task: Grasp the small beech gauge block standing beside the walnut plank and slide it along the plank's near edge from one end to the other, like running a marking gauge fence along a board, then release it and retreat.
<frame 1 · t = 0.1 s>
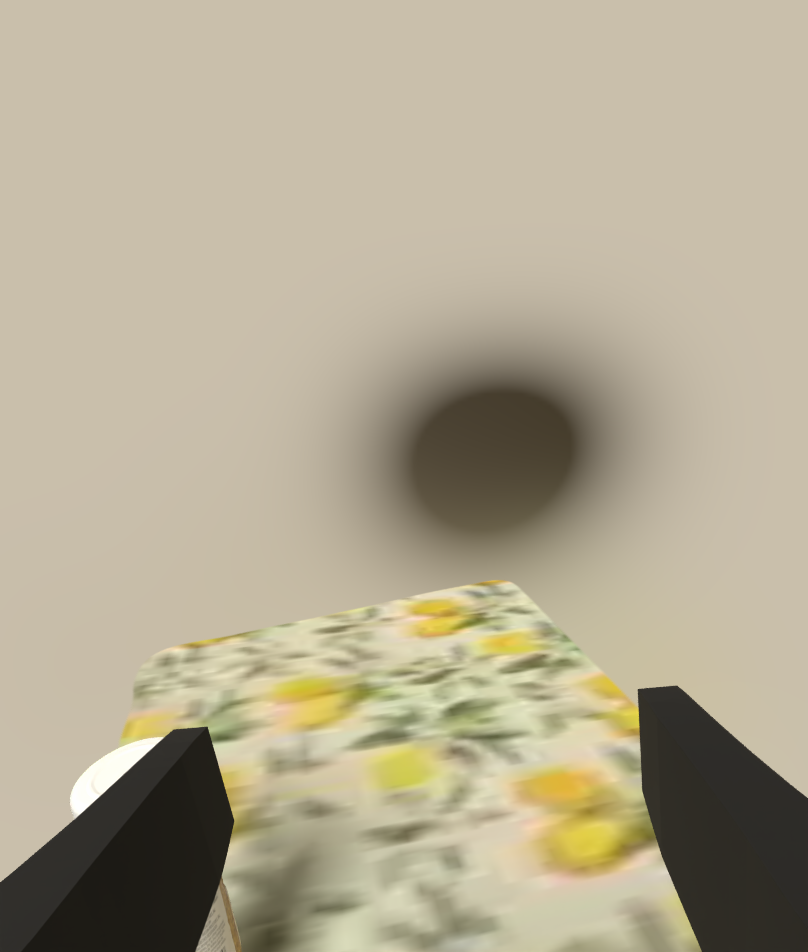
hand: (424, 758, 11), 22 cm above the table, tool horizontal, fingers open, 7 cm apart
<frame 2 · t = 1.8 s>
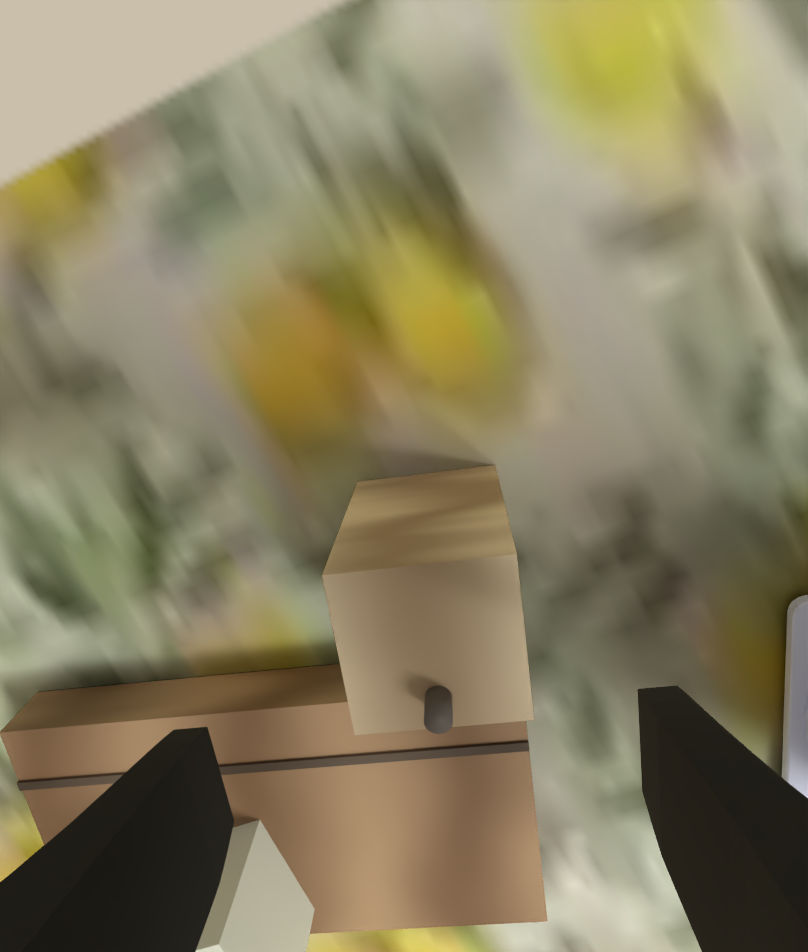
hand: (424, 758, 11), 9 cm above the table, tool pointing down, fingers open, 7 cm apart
gauge block: (434, 536, 20), on the table
offcut block: (234, 881, 22), point 2 cm above the table, touching plank
plank: (294, 781, 23), on the table
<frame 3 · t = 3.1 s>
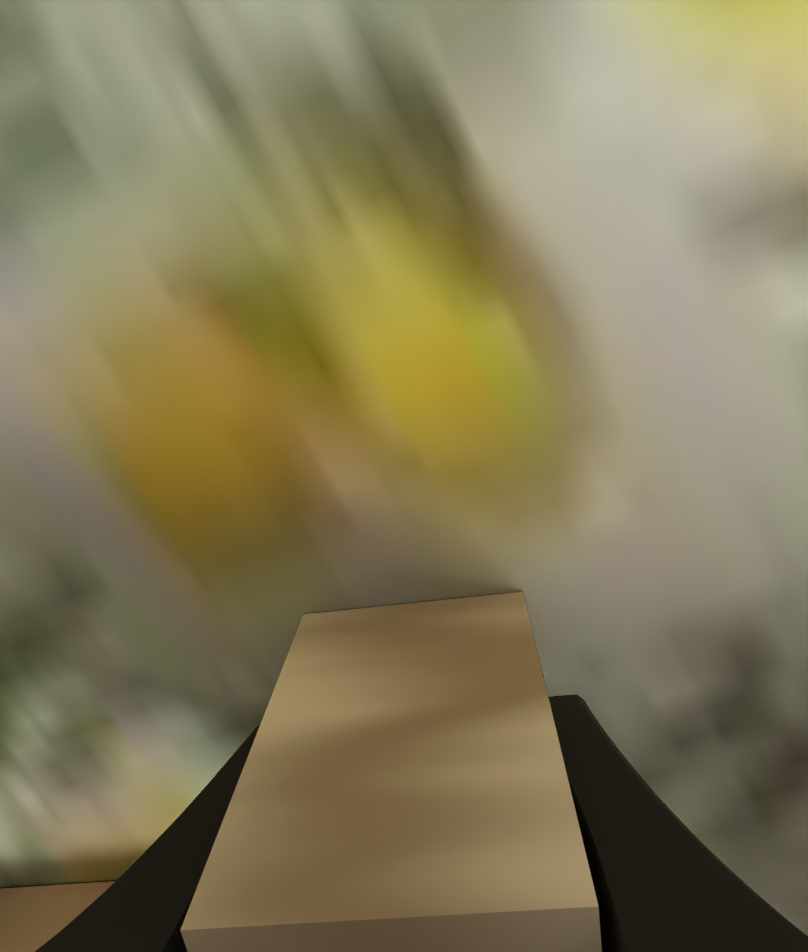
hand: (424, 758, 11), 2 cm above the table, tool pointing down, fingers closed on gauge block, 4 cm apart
gauge block: (426, 696, 13), on the table, touching gripper
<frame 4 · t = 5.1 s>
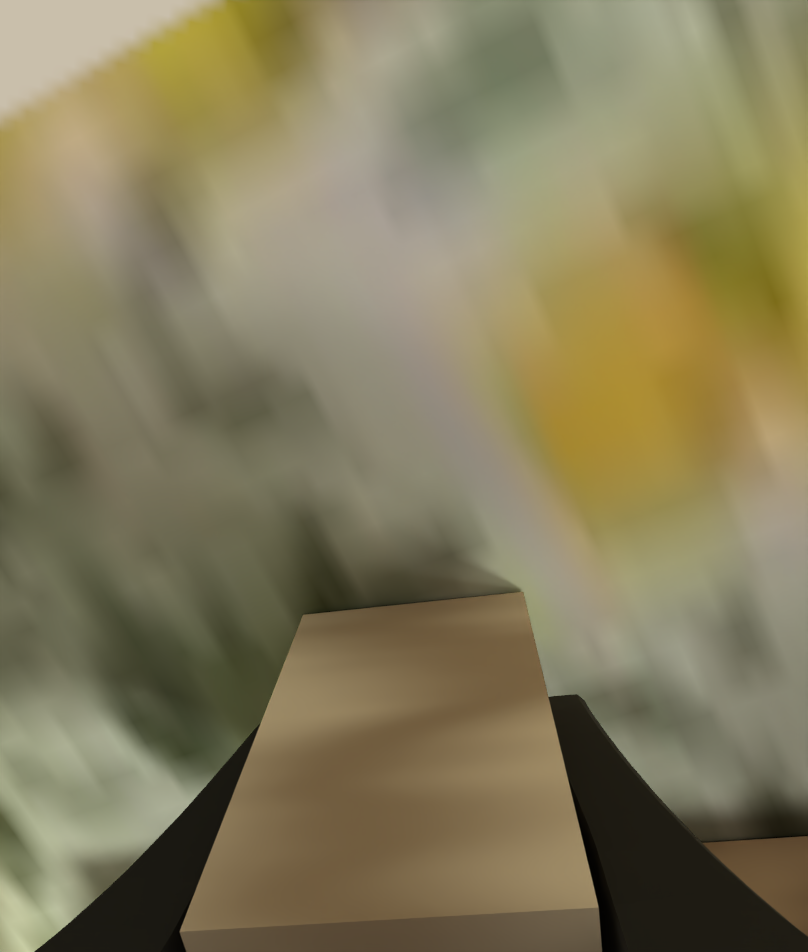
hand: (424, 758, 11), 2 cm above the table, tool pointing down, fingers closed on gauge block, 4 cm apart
gauge block: (426, 696, 13), on the table, touching gripper
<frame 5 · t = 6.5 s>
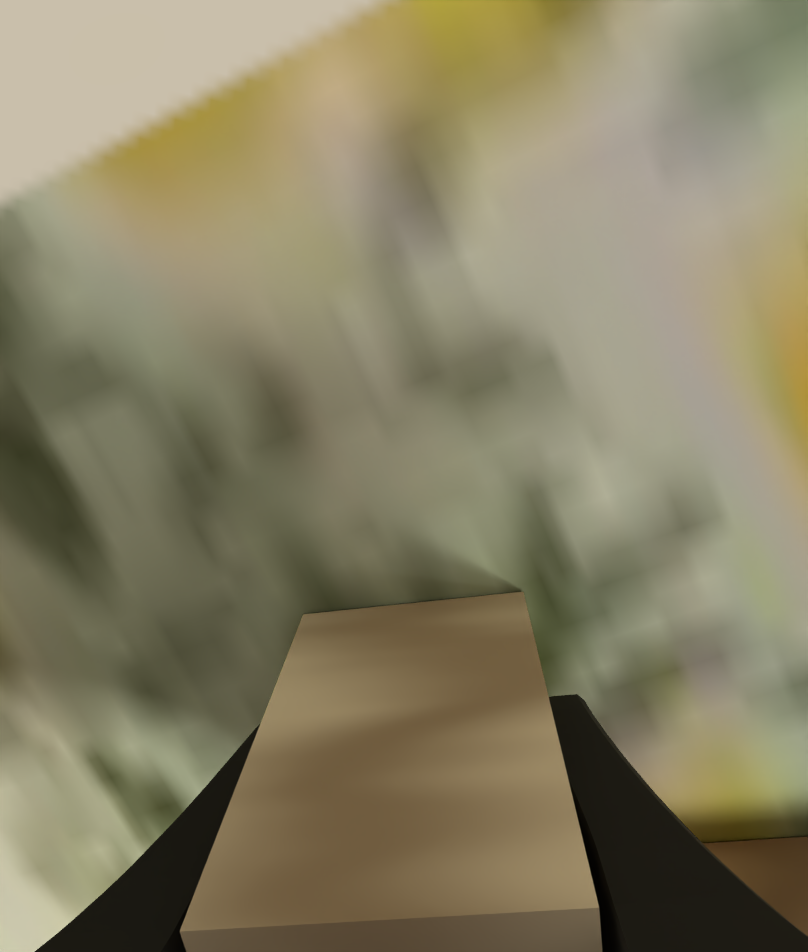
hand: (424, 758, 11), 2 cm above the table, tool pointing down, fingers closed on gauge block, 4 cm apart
gauge block: (426, 696, 13), on the table, touching gripper
when the fingers open (2 cm above the table, at t = 7.3 s): gauge block stays where it is, on the table.
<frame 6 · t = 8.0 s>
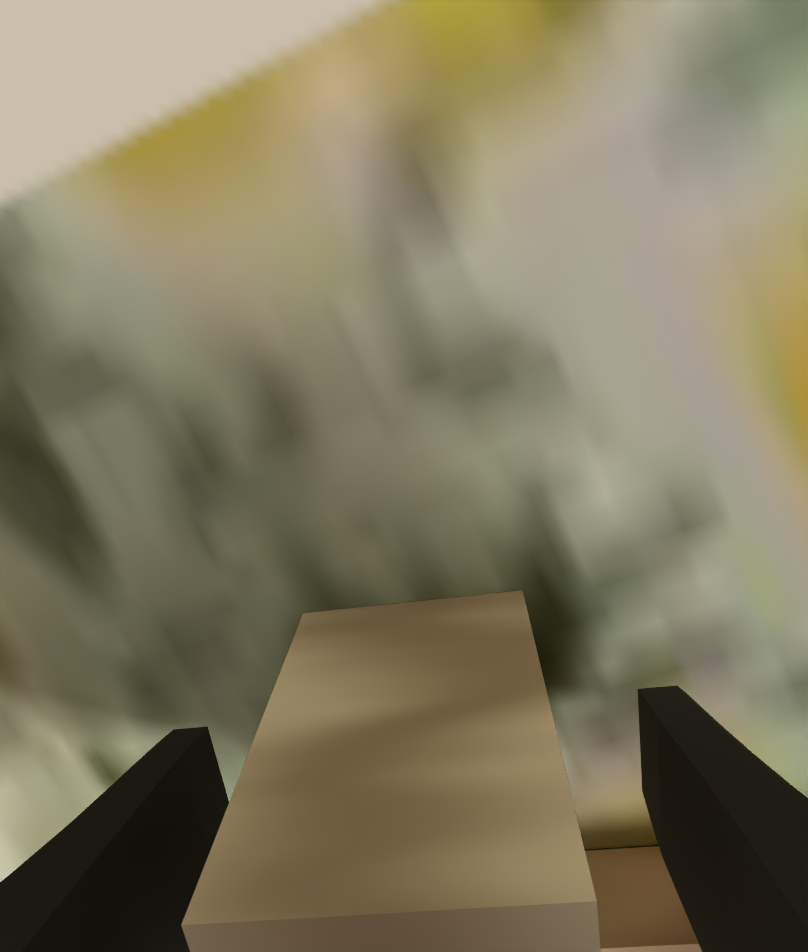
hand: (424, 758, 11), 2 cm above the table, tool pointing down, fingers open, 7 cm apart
gauge block: (426, 694, 13), on the table
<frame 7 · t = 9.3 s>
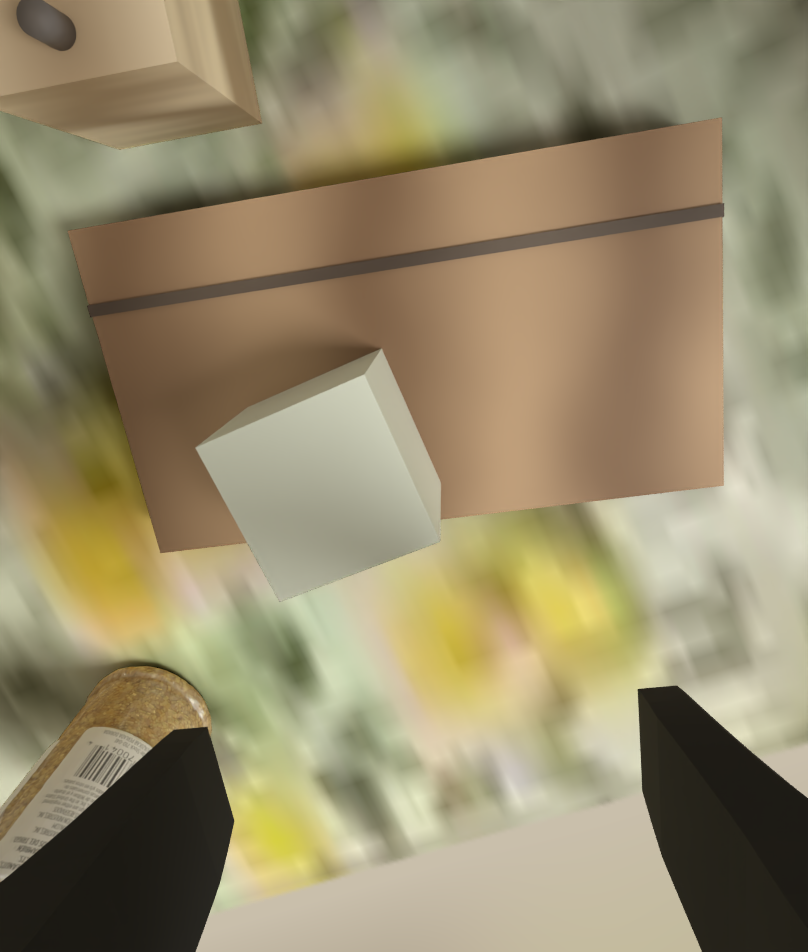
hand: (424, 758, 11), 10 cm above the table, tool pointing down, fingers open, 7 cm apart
sprinkles bottle: (157, 711, 24), on the table
gauge block: (171, 52, 17), on the table
offcut block: (345, 445, 18), point 2 cm above the table, touching plank
plank: (409, 351, 19), on the table
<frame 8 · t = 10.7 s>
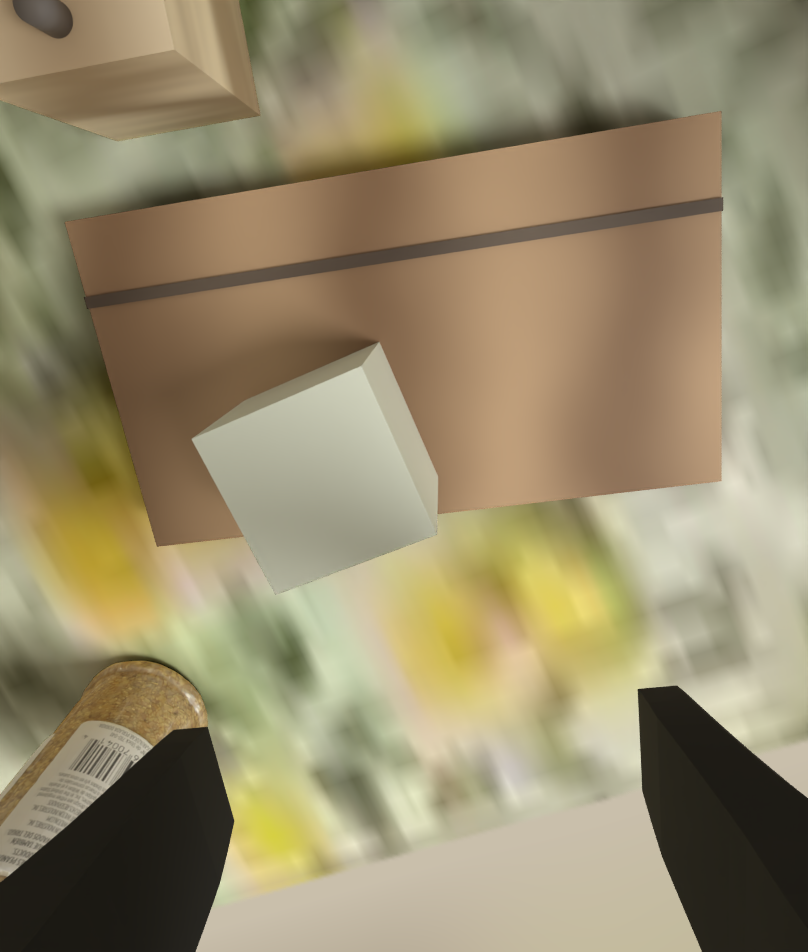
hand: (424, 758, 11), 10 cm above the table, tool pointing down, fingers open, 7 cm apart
sprinkles bottle: (153, 706, 24), on the table
gauge block: (169, 43, 17), on the table
offcut block: (342, 439, 18), point 2 cm above the table, touching plank
plank: (407, 346, 19), on the table
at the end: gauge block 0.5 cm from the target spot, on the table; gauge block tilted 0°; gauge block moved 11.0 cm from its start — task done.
